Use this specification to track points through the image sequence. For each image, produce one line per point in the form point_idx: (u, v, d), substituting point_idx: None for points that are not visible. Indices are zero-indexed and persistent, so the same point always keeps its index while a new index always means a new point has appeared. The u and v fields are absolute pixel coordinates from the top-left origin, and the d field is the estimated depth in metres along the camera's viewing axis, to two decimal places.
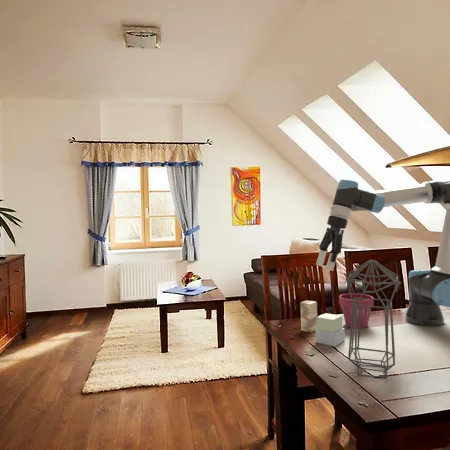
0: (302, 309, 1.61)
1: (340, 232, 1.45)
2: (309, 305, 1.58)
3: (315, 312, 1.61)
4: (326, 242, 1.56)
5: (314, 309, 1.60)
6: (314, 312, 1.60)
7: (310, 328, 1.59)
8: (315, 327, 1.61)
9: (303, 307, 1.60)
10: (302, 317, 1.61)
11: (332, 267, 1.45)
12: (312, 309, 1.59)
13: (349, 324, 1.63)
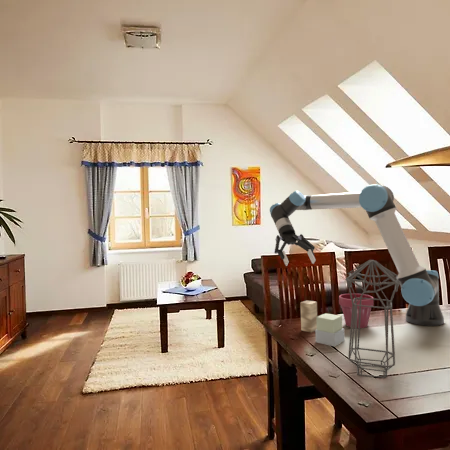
0: (302, 309, 1.61)
1: (276, 238, 1.80)
2: (309, 305, 1.58)
3: (315, 312, 1.61)
4: (300, 245, 1.80)
5: (314, 309, 1.60)
6: (314, 312, 1.60)
7: (310, 328, 1.59)
8: (315, 327, 1.61)
9: (303, 307, 1.60)
10: (302, 317, 1.61)
11: (286, 260, 1.70)
12: (312, 309, 1.59)
13: (349, 324, 1.63)
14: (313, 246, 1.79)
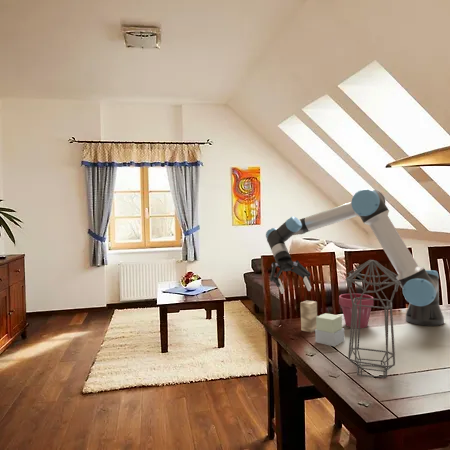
0: (302, 309, 1.61)
1: (272, 265, 1.79)
2: (309, 305, 1.58)
3: (315, 312, 1.61)
4: (296, 272, 1.80)
5: (314, 309, 1.60)
6: (314, 312, 1.60)
7: (310, 328, 1.59)
8: (315, 327, 1.61)
9: (303, 307, 1.60)
10: (302, 317, 1.61)
11: (281, 288, 1.70)
12: (312, 309, 1.59)
13: (349, 324, 1.63)
14: (309, 273, 1.79)
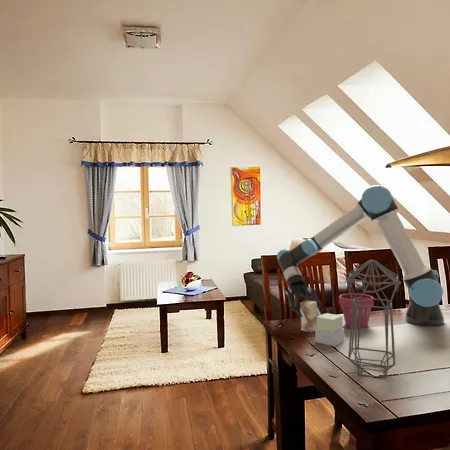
0: (302, 309, 1.61)
1: (286, 293, 1.67)
2: (309, 305, 1.58)
3: (315, 311, 1.61)
4: (308, 300, 1.67)
5: (314, 309, 1.60)
6: (314, 312, 1.60)
7: (310, 328, 1.59)
8: (315, 327, 1.61)
9: (303, 307, 1.60)
10: None
11: (304, 320, 1.57)
12: (312, 309, 1.59)
13: (349, 324, 1.63)
14: (320, 303, 1.65)
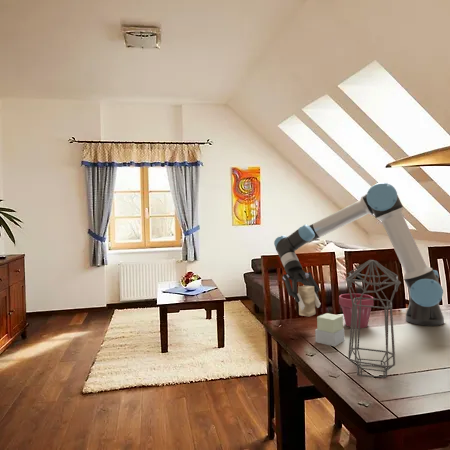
0: (300, 294, 1.61)
1: (284, 278, 1.67)
2: (307, 289, 1.59)
3: (313, 296, 1.61)
4: None
5: (311, 293, 1.60)
6: (312, 296, 1.60)
7: (308, 313, 1.59)
8: (313, 311, 1.61)
9: (301, 291, 1.60)
10: None
11: (301, 304, 1.58)
12: (310, 293, 1.59)
13: (349, 324, 1.63)
14: (318, 287, 1.65)
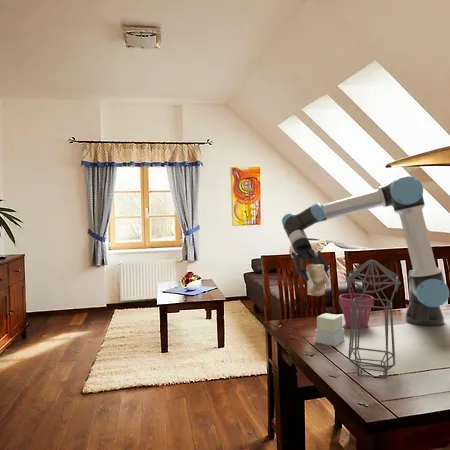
0: (309, 272, 1.52)
1: (292, 256, 1.58)
2: (316, 267, 1.50)
3: (322, 275, 1.52)
4: (315, 263, 1.58)
5: (321, 272, 1.52)
6: (321, 275, 1.52)
7: (317, 292, 1.50)
8: (322, 291, 1.52)
9: (310, 270, 1.52)
10: None
11: (310, 283, 1.49)
12: (319, 272, 1.51)
13: (349, 324, 1.63)
14: (328, 266, 1.56)
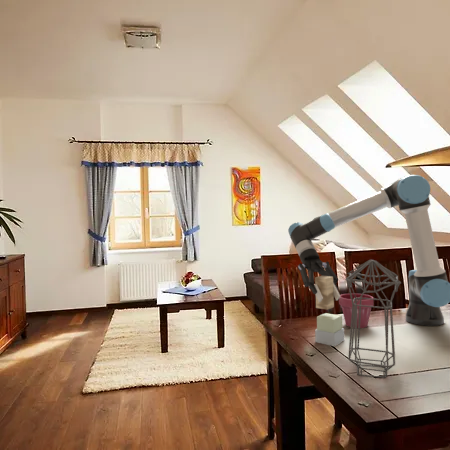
0: (317, 284, 1.47)
1: (300, 268, 1.53)
2: (325, 280, 1.45)
3: (331, 287, 1.47)
4: (323, 275, 1.53)
5: (330, 284, 1.46)
6: (330, 287, 1.47)
7: (326, 305, 1.45)
8: (331, 304, 1.47)
9: (319, 282, 1.47)
10: None
11: (319, 296, 1.44)
12: (328, 284, 1.45)
13: (349, 324, 1.63)
14: (337, 278, 1.51)
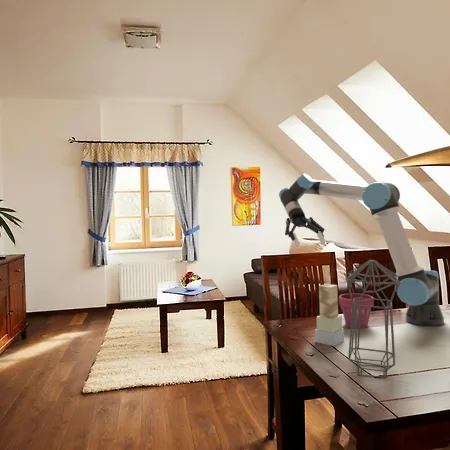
0: (321, 293, 1.45)
1: (286, 221, 1.83)
2: (329, 288, 1.43)
3: (335, 296, 1.45)
4: (310, 228, 1.84)
5: (334, 293, 1.45)
6: (334, 296, 1.45)
7: (330, 314, 1.43)
8: (335, 313, 1.45)
9: (322, 291, 1.45)
10: (321, 302, 1.46)
11: (296, 241, 1.73)
12: (332, 293, 1.44)
13: (349, 324, 1.63)
14: (323, 228, 1.82)
